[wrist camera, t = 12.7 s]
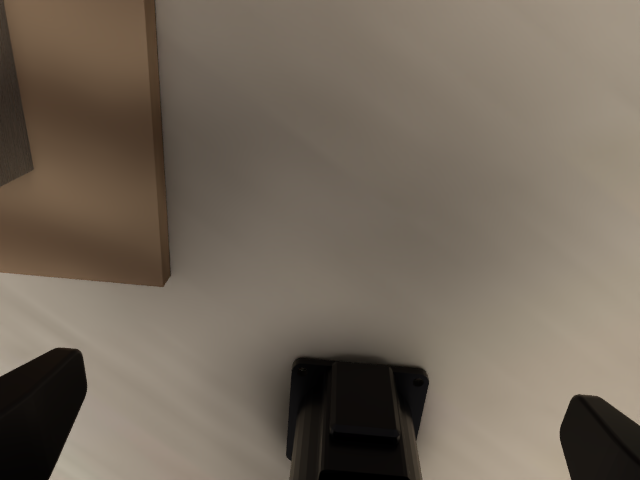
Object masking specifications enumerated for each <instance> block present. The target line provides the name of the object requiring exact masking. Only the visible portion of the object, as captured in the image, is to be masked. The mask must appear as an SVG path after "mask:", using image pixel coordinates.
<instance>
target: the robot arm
mask: <svg viewBox="0 0 640 480" xmlns="http://www.w3.org/2000/svg"><path fill="white" fill-rule="evenodd" d="M299 368H306V369H307V370H304V371H302V370H300V369H299ZM417 378H420V379H421V380H419V381H415V379H417ZM428 385H429V379H428V375H427V373H426V372H425V371H424V370H422V369H418V368H407V367H396V366H385V365H374V364H363V363H352V362H341V361H330V360H319V359H308V358H299V359H297V360H295V361H294V363H293V366H292V376H291V391H290V406H289V421H288V436H287V450H286V456H287V458H288V459H289V460H291V461H292V462H291V470H290V479H289V480H422V474H421V468H420V462H419V456H418V450H417V444H416V439H417V435H418V430H419V426H420V421H421V417H422V412H423V408H424V403H425V399H426V394H427V389H428ZM86 392H87V379H86V373H85V367H84V361H83V356H82V353H81V351H79V350H78V349H71V348H55V349H53V350H51V351H49V352H47V353H45V354H43V355H41V356H39V357H37V358H35V359H33V360H31V361H30V362H28V363H26V364H24V365H22V366H20V367H18V368H16V369H14V370H12V371H10V372H8V373H7V374H5V375H3V376H1V377H0V480H48V479H49V478H50V476H51V474H52V472H53V469H54V467H55V465H56V463H57V461H58V458H59V456H60V454H61V452H62V449H63V447H64V445H65V442H66V440H67V438H68V435H69V433H70V431H71V429H72V426H73V424H74V422H75V419H76V417H77V415H78V413H79V410H80V408H81V406H82V403H83V401H84V399H85V396H86ZM560 441H561V445H562V448H563V452H564V456H565V459H566V463H567V466H568V470H569V473H570V477H571V480H640V426H639V425H638V424H637V423H635V422H634V421H632V420H631V419H630V418H628V417H627V416H626V415H624V414H623V413H621V412H620V411H619V410H617V409H616V408H614V407H613V406H612V405H610V404H609V403H608V402H606V401H605V400H603V399H602V398H600V397H598V396H592V395H580V394H578V395H575V396H573V397H572V399H571V401H570V403H569V406H568V409H567V411H566V414H565V416H564V419H563V422H562V424H561V427H560Z"/></svg>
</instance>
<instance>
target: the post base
mask: <svg viewBox="0 0 640 480" xmlns="http://www.w3.org/2000/svg"><path fill="white" fill-rule="evenodd" d="M4 5H5V11H6V17H7V22H8V28H9V33H10V39H11V44H12V50H13V55H14V61H15V66H16V72H17V78H18V83H19V89H20V94H21V100H22V105H23V111H24V116H25V122H26V128H27V133H28V139H29V144H30V150H31V155H32V161H33V166H34V170H32V171H30V172H28V173H26V174H25V175H23V176H21V177H19V178H17V179H15V180H13V181H11V182H9V183H7V184H5V185H3V186H1V187H0V272H3V273H14V274H25V275H36V276H47V277H58V278H69V279H80V280H91V281H102V282H113V283H124V284H136V285H147V286H158V287H163V286H164V285H165V283H166V282H167V280H168V279H169V277H170V276H171V274H170V257H169V240H168V223H167V206H166V189H165V172H164V155H163V138H162V121H161V105H160V88H159V71H158V54H157V37H156V20H155V3H154V0H4Z"/></svg>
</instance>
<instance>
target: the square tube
mask: <svg viewBox="0 0 640 480" xmlns="http://www.w3.org/2000/svg"><path fill="white" fill-rule="evenodd" d="M32 170H34V166H33V161H32V155H31V150H30V144H29V139H28V133H27V128H26V122H25V116H24V111H23V105H22V100H21V94H20V89H19V83H18V78H17V72H16V66H15V61H14V55H13V50H12V44H11V39H10V33H9V28H8V22H7V17H6V11H5V5H4V0H0V187H1V186H3V185H5V184H7V183H9V182H11V181H13V180H15V179H17V178H19V177H21V176H23V175H25V174H26V173H28V172H30V171H32Z"/></svg>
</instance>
